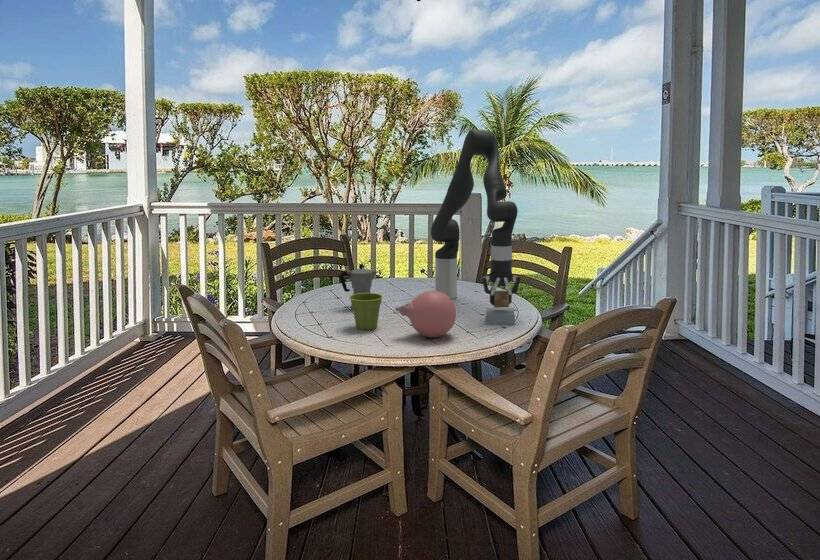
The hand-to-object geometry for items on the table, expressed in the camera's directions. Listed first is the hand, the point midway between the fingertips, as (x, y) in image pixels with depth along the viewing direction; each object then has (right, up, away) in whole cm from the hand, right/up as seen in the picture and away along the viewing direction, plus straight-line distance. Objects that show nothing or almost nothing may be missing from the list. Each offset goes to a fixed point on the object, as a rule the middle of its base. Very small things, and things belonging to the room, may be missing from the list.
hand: (500, 304), depth 213 cm
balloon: (-27, -10, -17) cm, 34 cm away
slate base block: (0, -6, +1) cm, 6 cm away
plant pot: (-48, -8, -6) cm, 49 cm away
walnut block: (0, -1, 0) cm, 0 cm away
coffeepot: (-53, -3, +21) cm, 57 cm away
